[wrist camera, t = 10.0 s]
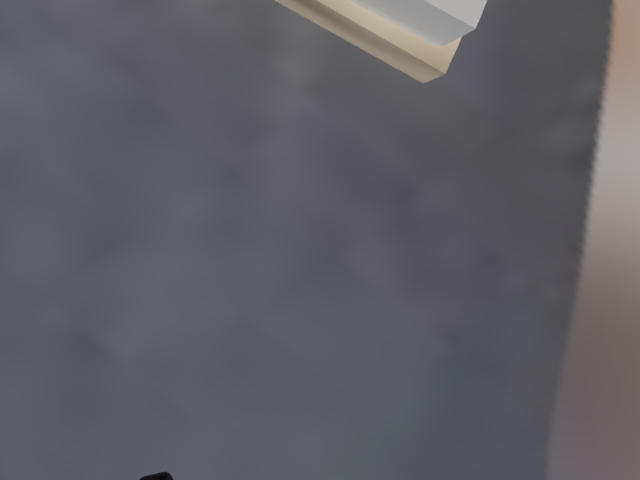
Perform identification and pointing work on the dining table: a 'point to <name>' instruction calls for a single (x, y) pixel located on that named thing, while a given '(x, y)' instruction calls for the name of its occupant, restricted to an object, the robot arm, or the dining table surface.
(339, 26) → the bottom slab
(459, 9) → the top slab
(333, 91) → the dining table surface
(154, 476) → the robot arm
